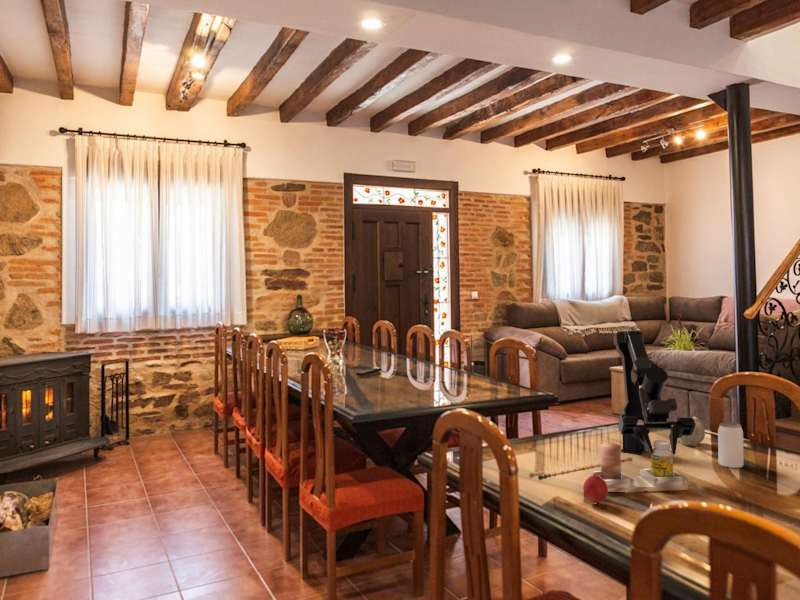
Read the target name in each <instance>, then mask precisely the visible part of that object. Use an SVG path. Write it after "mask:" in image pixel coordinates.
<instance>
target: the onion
mask: <svg viewBox="0 0 800 600" xmlns="http://www.w3.org/2000/svg"><path fill="white" fill-rule="evenodd" d="M582 488H583V489H582V490H583V494H584V496H585V497H586V499H587V500H589V501H590V502H591V503H592V502H593V503H599V504H600V503H602V502H603V501H604V500H605V499H606V498H607V496H608V494H609V493H608V488H607V485H606V483H605V481H604V480H603V479H602V478H601V477H599V476H598V474H597V473H594V474H593V475H592V476H590V475H589V477H587V478H586V479H585V481H584V483H583V485H582ZM593 503H592V504H593Z"/></svg>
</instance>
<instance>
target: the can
mask: <svg viewBox="0 0 800 600" xmlns="http://www.w3.org/2000/svg"><path fill="white" fill-rule="evenodd" d="M717 441H718V442H717V449H718V452H717V454H718V455H717V458H718V464H719V466H721V467H723V468H727V467H728V469H741V468H743V467H744V430H743V428H742V425H741V424H740V423H734V422H721V423H719V426H718V429H717Z"/></svg>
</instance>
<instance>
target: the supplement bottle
mask: <svg viewBox="0 0 800 600" xmlns="http://www.w3.org/2000/svg"><path fill="white" fill-rule="evenodd" d="M652 447H653V448H652V449H653V454H650V459H651V463H650V464H651V467H650V469H651V474H652V475H653V476H655V477H673V470H674V457H673V456H674V455H673V453H672V449H671V444H670V441H667V440H661V439H660V440H654V441H653V446H652Z"/></svg>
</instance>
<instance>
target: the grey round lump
mask: <svg viewBox="0 0 800 600" xmlns="http://www.w3.org/2000/svg"><path fill="white" fill-rule="evenodd" d="M691 417H692V418H693V419H694V420H695V423H696V426H695V429H694V431H693V433H692V435H690V436H681V437H680V438H679V439H680V441H679V442H680V444H681V445H683V446H687V447H691V446H698V445H699V444H700V443H702V442H703V441H704V439H705V437H706V431H705V429H706V428H705V426H704V425H703V423H702V422H701V420H700V419H699V418H698V417H697V416H691Z"/></svg>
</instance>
